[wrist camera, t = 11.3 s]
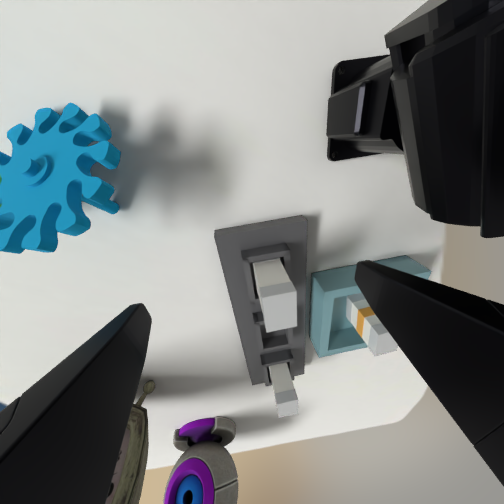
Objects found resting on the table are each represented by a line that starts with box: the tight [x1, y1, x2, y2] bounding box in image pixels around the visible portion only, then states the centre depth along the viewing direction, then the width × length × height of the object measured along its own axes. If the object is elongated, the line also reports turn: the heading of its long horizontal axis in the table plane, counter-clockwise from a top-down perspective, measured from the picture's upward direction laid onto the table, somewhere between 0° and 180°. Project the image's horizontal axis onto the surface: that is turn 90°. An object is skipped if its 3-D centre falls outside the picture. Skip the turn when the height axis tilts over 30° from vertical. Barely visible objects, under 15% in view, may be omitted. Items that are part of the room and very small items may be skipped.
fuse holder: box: [214, 215, 307, 386], centre depth 25 cm, size 9×28×3 cm, turn 8°
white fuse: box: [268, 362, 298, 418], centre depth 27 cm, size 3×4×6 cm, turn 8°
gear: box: [0, 103, 121, 254], centre depth 14 cm, size 11×6×10 cm
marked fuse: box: [346, 293, 398, 356], centre depth 24 cm, size 3×4×6 cm, turn 13°
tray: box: [309, 255, 431, 357], centre depth 26 cm, size 12×12×4 cm
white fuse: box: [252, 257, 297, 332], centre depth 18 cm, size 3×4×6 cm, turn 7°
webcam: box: [163, 417, 238, 504], centre depth 35 cm, size 13×13×15 cm
